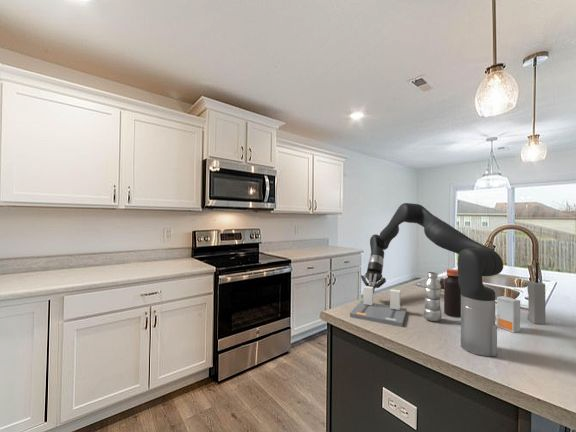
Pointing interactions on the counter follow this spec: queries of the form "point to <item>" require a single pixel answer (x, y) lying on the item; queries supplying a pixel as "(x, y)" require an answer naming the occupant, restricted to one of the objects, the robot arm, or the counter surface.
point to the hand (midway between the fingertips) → (370, 293)
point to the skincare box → (508, 313)
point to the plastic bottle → (432, 297)
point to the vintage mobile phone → (536, 300)
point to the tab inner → (395, 299)
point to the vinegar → (452, 294)
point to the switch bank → (379, 313)
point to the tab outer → (368, 295)
